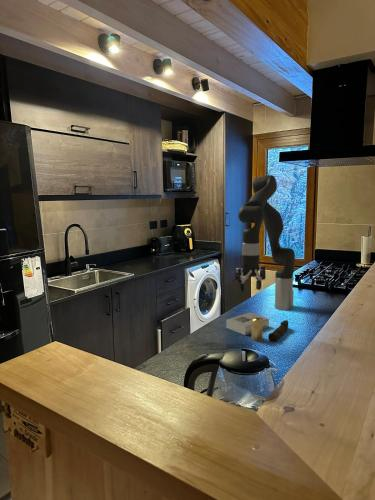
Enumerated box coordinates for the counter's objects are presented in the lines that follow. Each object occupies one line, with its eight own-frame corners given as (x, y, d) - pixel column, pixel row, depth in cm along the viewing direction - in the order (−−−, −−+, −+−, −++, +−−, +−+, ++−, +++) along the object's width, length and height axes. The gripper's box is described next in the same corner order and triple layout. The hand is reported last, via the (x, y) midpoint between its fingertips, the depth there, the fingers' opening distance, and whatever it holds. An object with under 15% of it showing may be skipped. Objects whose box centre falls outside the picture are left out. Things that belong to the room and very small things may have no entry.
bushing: (256, 335, 154) (256, 316, 152) (264, 339, 150) (265, 318, 148) (248, 338, 151) (249, 318, 149) (257, 342, 147) (257, 321, 146)
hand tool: (276, 343, 145) (277, 333, 145) (267, 341, 148) (268, 330, 147) (293, 329, 160) (293, 320, 160) (284, 328, 163) (285, 318, 162)
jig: (249, 320, 173) (249, 312, 173) (268, 326, 164) (268, 318, 163) (226, 327, 164) (226, 319, 163) (245, 335, 154) (245, 326, 154)
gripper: (259, 251, 154) (258, 287, 156) (231, 253, 148) (231, 290, 150) (269, 253, 147) (269, 290, 150) (241, 255, 141) (241, 294, 143)
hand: (250, 290), depth 150 cm, fingers open, 8 cm apart
